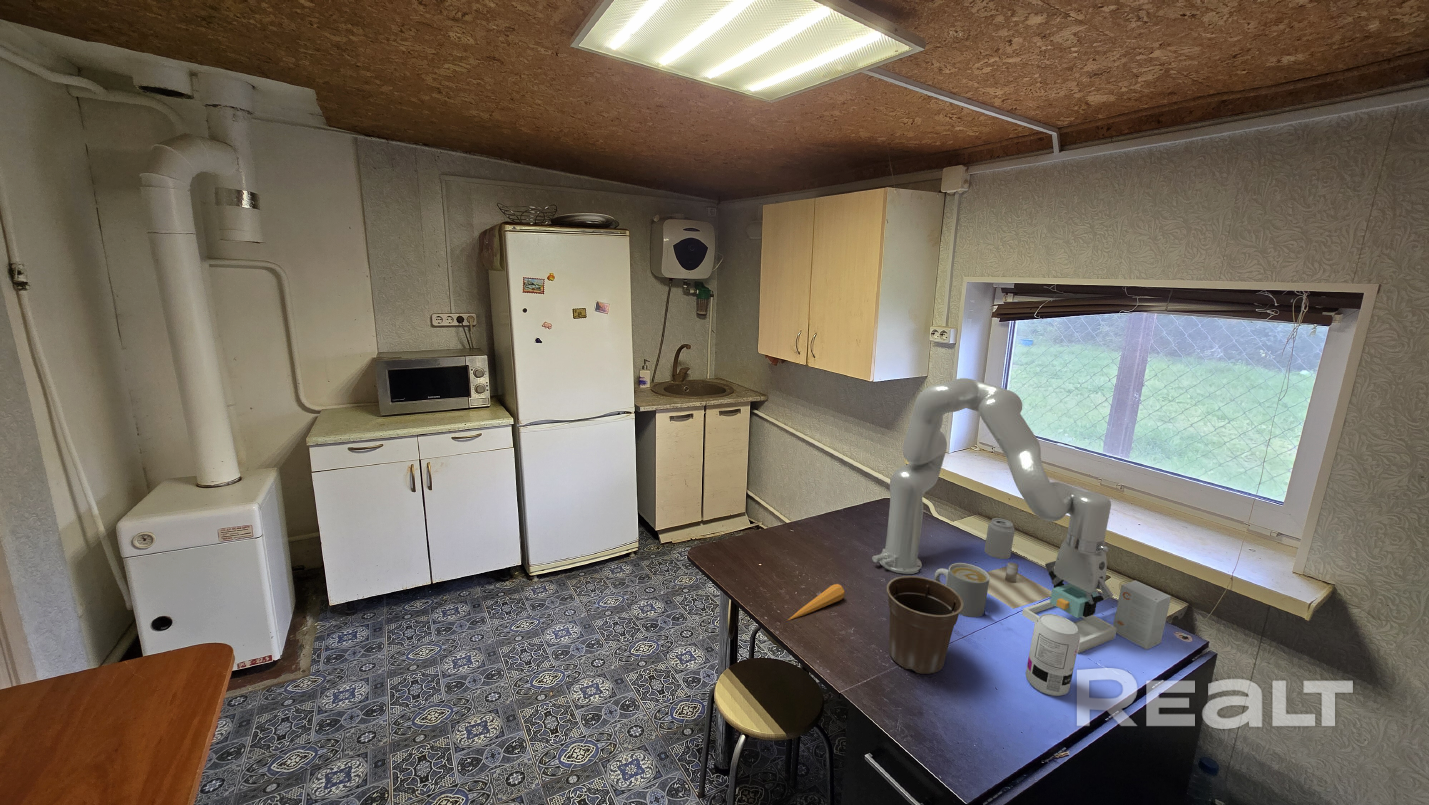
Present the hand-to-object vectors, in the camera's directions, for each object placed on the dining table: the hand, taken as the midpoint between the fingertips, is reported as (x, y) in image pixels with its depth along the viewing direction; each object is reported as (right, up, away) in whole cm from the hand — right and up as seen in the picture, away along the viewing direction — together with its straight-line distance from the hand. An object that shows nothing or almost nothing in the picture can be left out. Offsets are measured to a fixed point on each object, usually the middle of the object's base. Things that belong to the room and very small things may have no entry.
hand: (1072, 606), depth 137 cm
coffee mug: (-24, -3, +11) cm, 26 cm away
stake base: (-6, -2, +18) cm, 19 cm away
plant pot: (-43, -8, -10) cm, 45 cm away
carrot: (-64, -3, +7) cm, 64 cm away
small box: (+15, -8, -1) cm, 17 cm away
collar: (0, 0, 0) cm, 0 cm away
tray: (0, -6, +2) cm, 6 cm away
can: (0, +2, +37) cm, 37 cm away
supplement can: (-18, -10, -18) cm, 27 cm away
